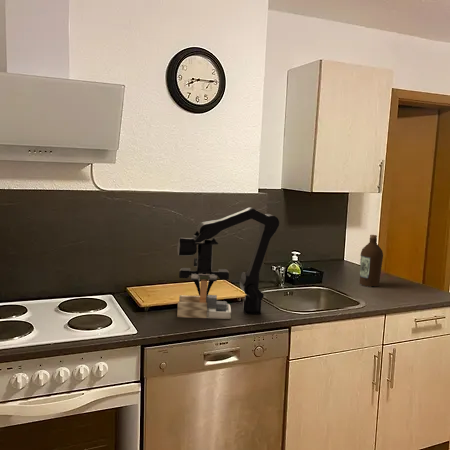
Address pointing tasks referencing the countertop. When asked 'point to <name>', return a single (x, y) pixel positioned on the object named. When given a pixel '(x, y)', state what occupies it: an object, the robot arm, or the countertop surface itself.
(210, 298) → the grey cube
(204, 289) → the rake tool
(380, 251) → the olive oil
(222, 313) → the tray
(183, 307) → the rail
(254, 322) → the countertop surface
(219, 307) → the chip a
